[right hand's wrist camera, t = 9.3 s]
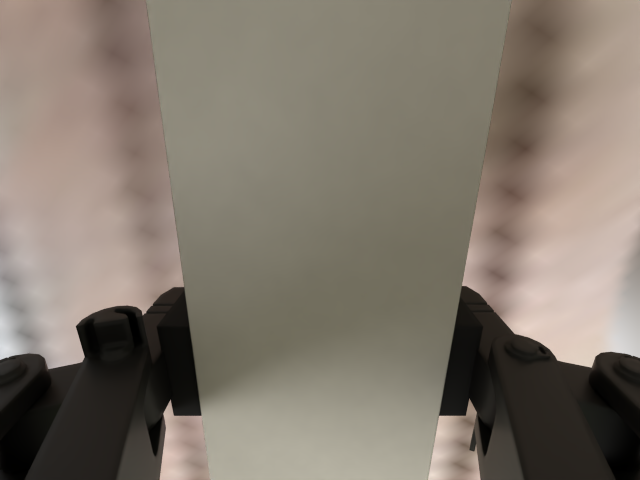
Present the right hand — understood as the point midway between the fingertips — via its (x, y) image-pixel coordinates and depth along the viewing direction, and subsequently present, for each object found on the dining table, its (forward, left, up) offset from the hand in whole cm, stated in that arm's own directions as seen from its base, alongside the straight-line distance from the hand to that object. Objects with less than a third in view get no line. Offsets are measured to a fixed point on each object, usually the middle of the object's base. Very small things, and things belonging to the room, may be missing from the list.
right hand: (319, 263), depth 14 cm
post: (+31, +14, 0) cm, 34 cm away
